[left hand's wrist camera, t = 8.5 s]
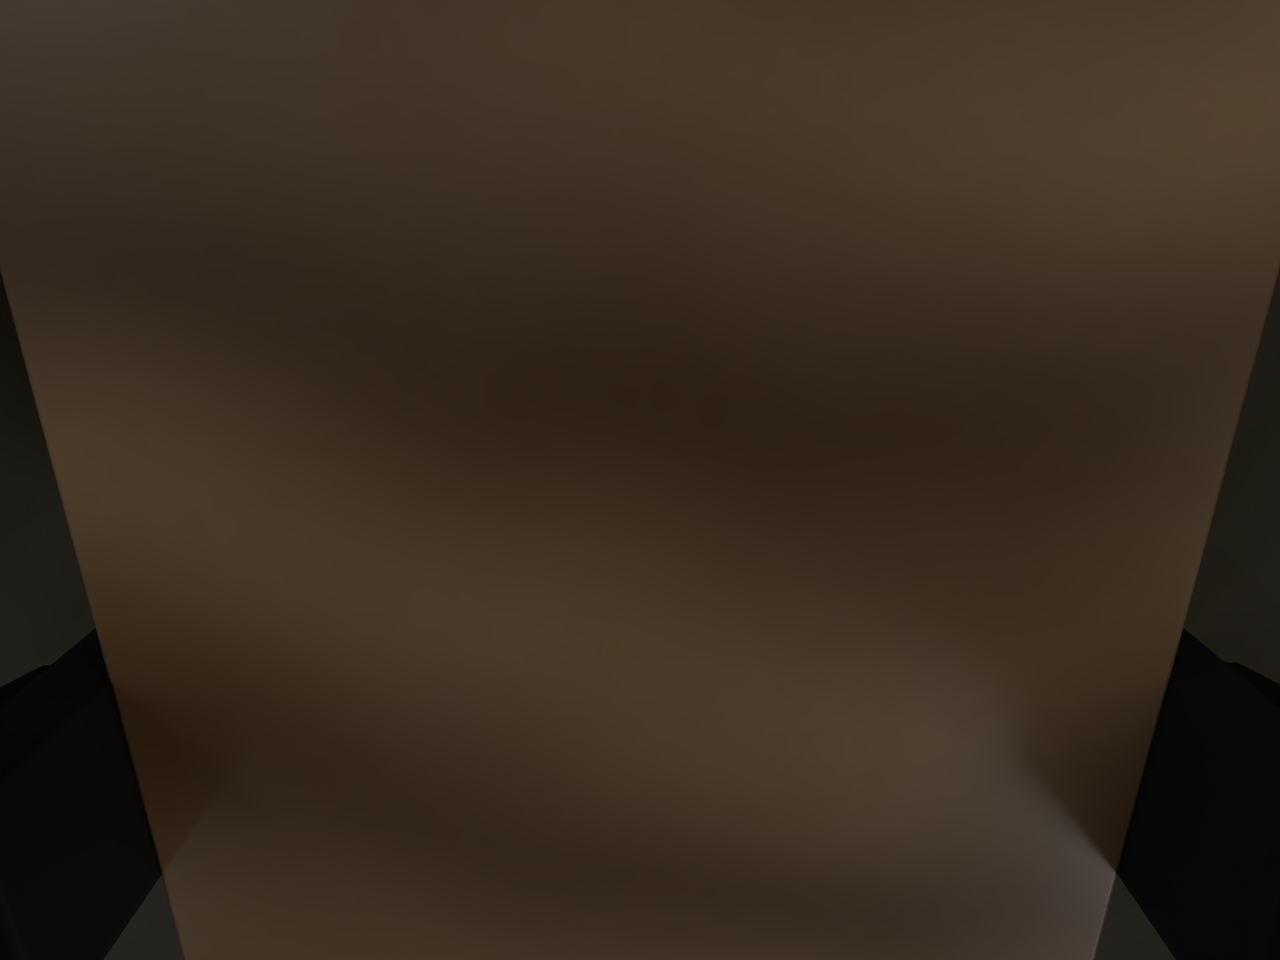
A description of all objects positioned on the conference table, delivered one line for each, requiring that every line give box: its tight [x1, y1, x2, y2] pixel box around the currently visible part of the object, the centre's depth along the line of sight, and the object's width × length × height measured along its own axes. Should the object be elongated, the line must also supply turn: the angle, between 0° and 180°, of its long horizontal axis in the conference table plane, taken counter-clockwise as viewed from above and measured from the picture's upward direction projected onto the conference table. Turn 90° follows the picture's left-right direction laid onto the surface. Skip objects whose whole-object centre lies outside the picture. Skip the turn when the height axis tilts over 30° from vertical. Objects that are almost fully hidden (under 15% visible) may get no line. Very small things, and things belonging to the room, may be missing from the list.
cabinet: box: [0, 0, 1280, 960], centre depth 11 cm, size 18×11×9 cm, turn 0°
